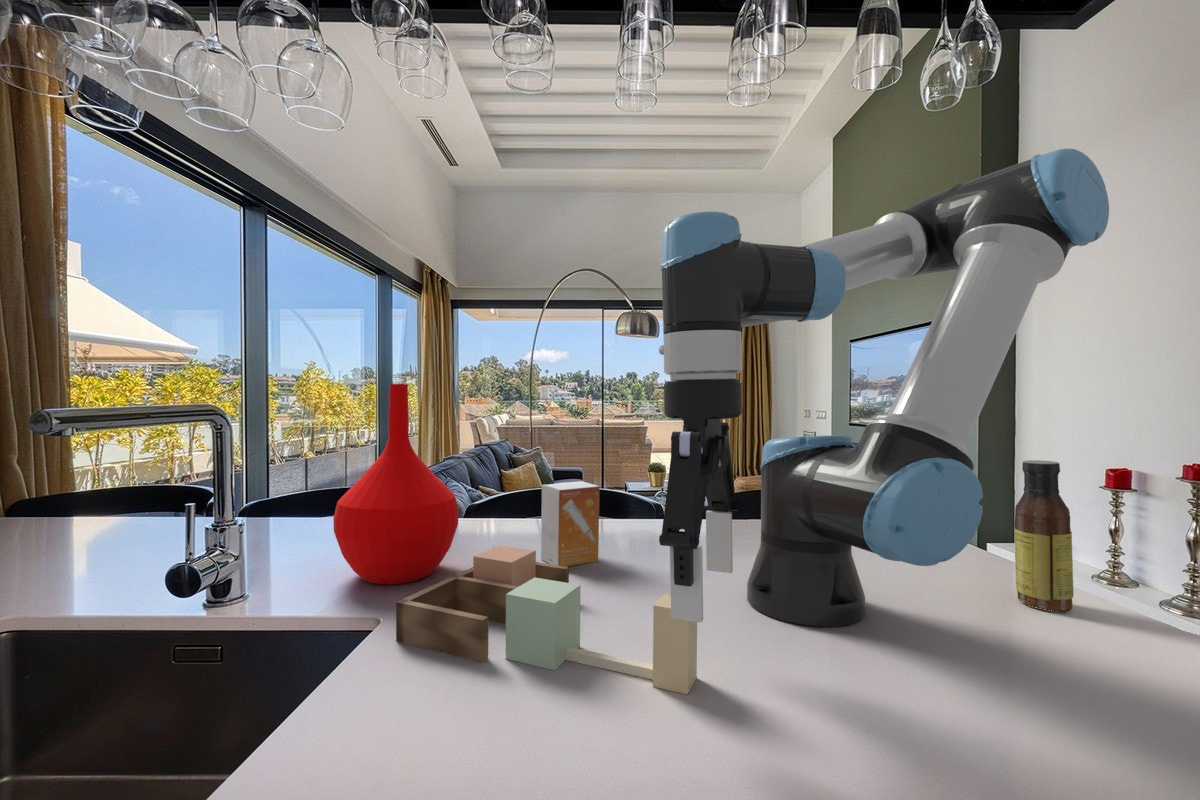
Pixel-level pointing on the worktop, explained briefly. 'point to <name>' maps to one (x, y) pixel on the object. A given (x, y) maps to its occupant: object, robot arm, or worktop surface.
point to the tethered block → (552, 635)
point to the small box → (570, 523)
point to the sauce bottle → (1043, 540)
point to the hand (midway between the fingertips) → (705, 592)
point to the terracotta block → (505, 565)
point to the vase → (396, 510)
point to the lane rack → (460, 612)
